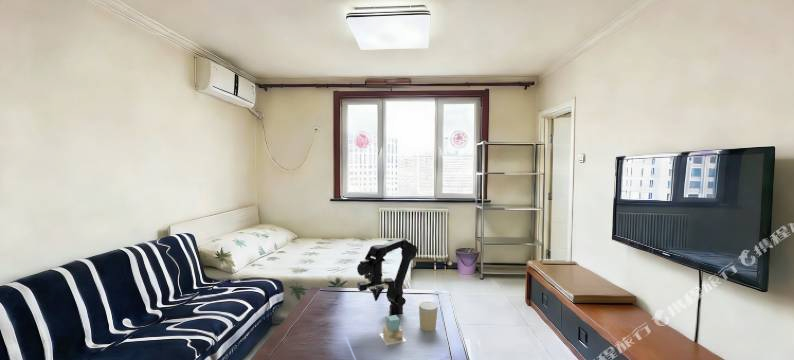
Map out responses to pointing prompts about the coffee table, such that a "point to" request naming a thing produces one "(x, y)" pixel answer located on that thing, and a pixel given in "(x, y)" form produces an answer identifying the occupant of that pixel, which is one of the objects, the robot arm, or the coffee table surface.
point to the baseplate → (391, 342)
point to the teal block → (392, 323)
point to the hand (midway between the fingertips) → (375, 300)
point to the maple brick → (392, 334)
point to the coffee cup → (428, 316)
